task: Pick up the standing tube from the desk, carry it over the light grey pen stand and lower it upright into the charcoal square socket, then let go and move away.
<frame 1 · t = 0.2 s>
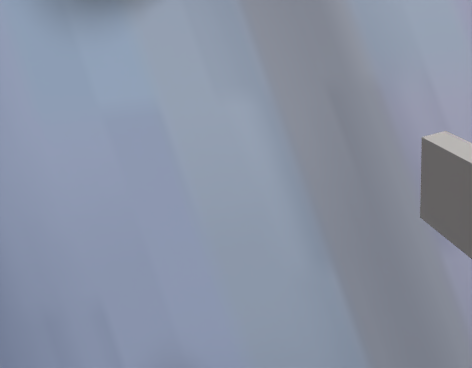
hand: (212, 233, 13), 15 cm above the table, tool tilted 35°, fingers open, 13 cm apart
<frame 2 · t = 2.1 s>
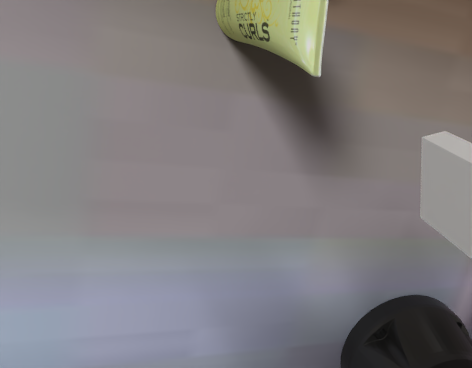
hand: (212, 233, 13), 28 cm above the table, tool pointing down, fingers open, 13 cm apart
tube: (243, 8, 38), on the table
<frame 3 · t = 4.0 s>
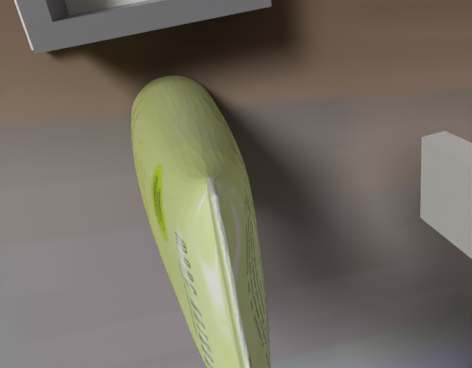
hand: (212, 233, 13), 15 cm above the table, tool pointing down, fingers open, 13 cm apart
tube: (173, 112, 26), on the table
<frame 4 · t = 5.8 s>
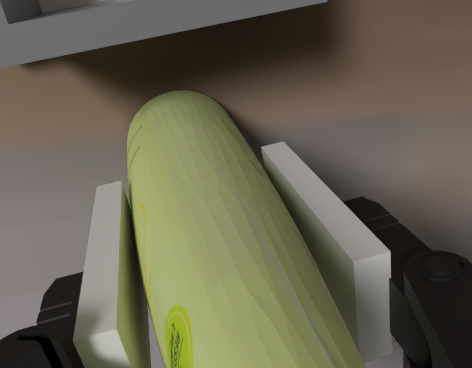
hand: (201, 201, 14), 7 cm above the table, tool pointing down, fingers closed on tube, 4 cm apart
tube: (180, 136, 20), on the table, touching gripper
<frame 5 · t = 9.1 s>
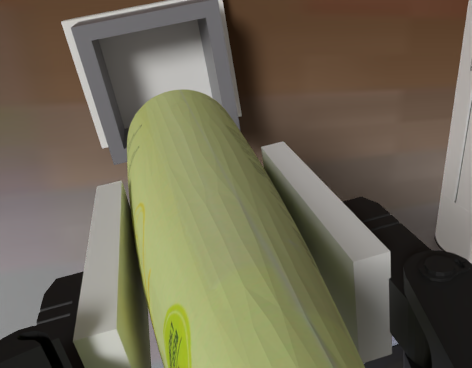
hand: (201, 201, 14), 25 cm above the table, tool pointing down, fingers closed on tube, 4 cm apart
tube: (180, 135, 20), point 18 cm above the table, touching gripper
pen stand: (158, 69, 36), on the table
when the fingers open (10 cm above the table, at t = 12.3 s): tube drops 1 cm, resting on pen stand.
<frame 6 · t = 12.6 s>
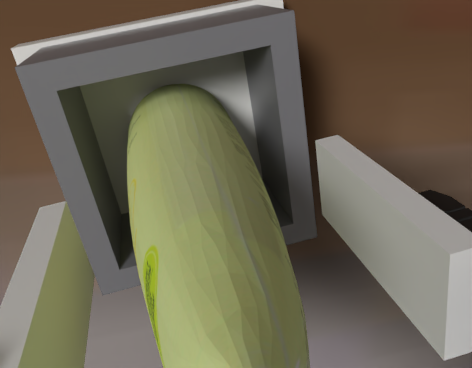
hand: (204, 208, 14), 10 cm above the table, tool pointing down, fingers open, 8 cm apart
tube: (179, 127, 22), point 1 cm above the table, touching pen stand
pen stand: (174, 119, 23), on the table
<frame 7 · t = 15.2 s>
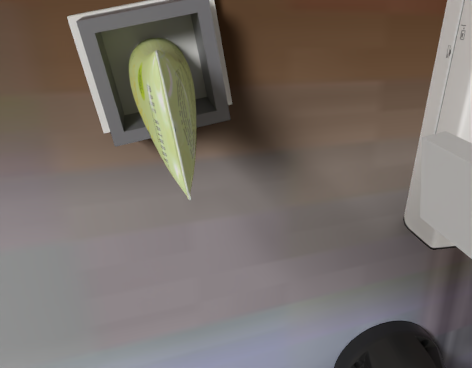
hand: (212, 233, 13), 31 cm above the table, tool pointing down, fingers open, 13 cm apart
tube: (157, 63, 39), point 1 cm above the table, touching pen stand
pen stand: (155, 61, 40), on the table
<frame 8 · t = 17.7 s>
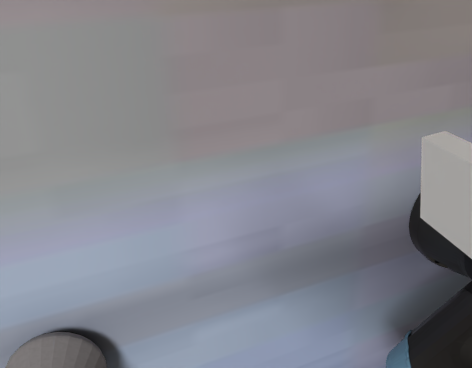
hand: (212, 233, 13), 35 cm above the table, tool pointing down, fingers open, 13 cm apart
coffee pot: (20, 365, 55), on the table
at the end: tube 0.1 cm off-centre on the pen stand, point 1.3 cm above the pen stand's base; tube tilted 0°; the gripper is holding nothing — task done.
